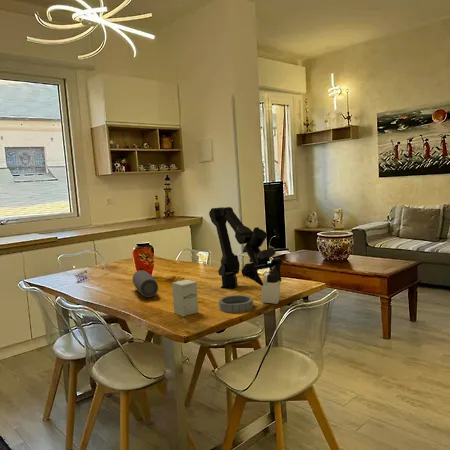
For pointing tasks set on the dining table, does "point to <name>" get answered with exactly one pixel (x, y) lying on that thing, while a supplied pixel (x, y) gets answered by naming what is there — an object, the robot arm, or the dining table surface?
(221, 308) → the round dish
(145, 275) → the bluetooth speaker
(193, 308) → the supplement box
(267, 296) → the medicine bottle
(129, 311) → the dining table surface
